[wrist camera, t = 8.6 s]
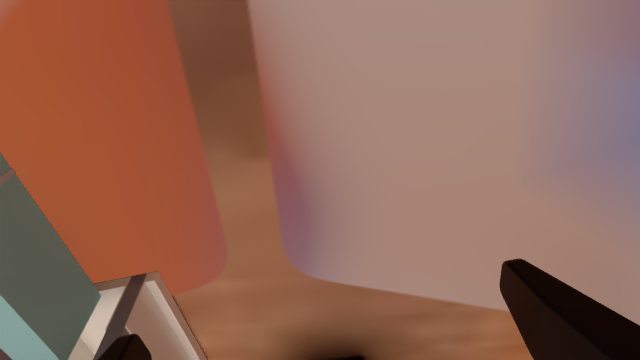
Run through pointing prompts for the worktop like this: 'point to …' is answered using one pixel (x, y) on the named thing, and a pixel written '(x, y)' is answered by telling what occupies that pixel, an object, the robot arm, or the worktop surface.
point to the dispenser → (136, 321)
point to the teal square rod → (37, 280)
